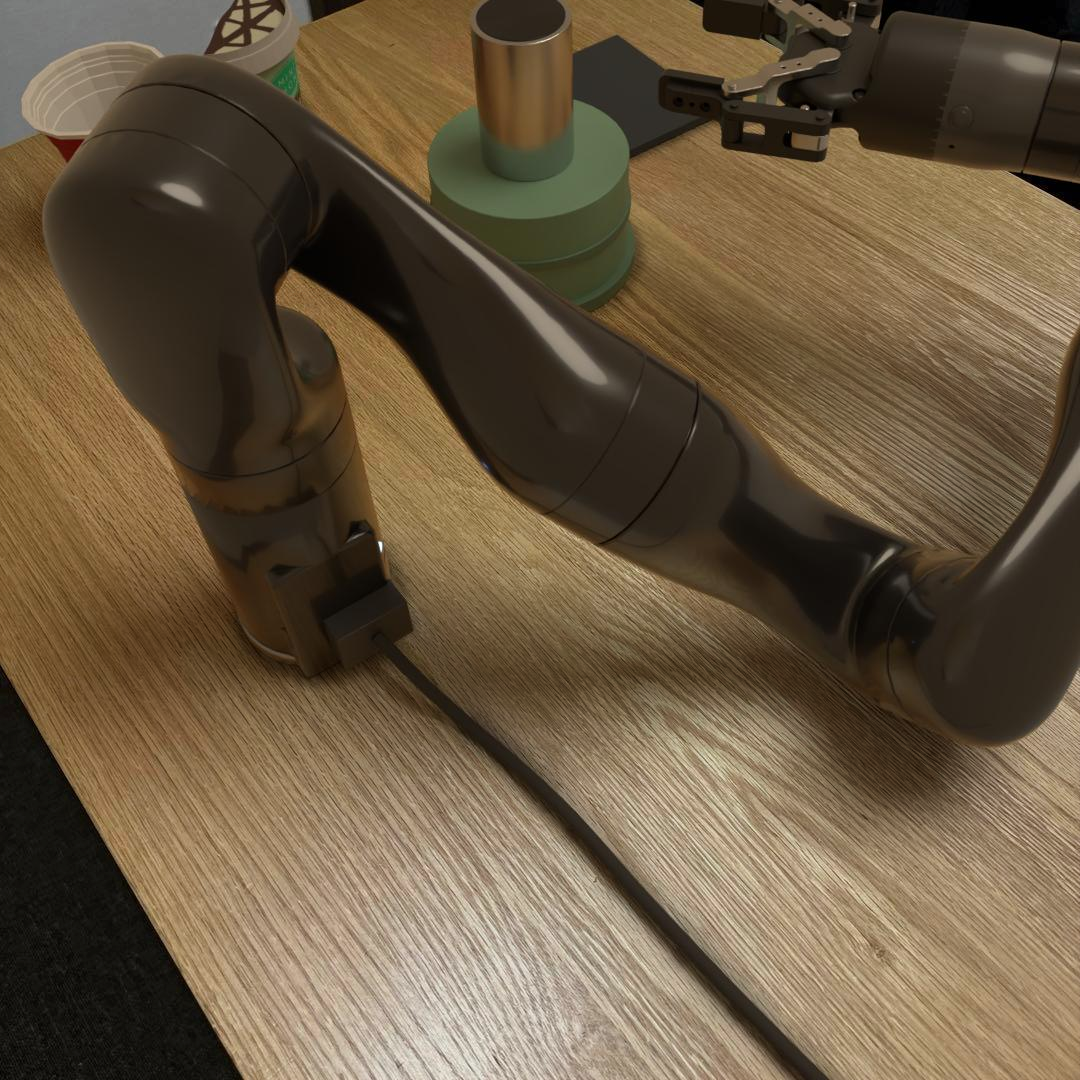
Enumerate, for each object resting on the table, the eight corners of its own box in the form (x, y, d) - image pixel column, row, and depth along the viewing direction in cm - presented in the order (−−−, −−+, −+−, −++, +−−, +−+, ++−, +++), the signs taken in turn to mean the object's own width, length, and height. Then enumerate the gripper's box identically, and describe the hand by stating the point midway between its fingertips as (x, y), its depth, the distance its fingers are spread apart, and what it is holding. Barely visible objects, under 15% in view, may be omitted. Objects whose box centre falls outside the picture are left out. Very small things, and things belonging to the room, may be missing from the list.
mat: (718, 116, 99) (718, 108, 98) (601, 171, 95) (601, 163, 94) (617, 42, 106) (617, 34, 105) (504, 90, 102) (504, 82, 102)
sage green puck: (676, 268, 88) (683, 165, 81) (504, 356, 83) (496, 255, 76) (558, 167, 96) (555, 64, 88) (395, 242, 91) (378, 140, 84)
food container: (295, 177, 96) (268, 63, 88) (223, 172, 97) (189, 59, 89) (334, 88, 103) (312, -24, 95) (266, 84, 104) (239, -28, 96)
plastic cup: (61, 202, 95) (0, 66, 86) (190, 160, 98) (146, 23, 88) (96, 282, 90) (35, 145, 80) (232, 235, 92) (190, 97, 82)
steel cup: (592, 158, 82) (592, 20, 74) (515, 194, 80) (506, 56, 72) (539, 114, 85) (534, -23, 77) (464, 147, 83) (450, 10, 75)
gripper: (918, 225, 66) (643, 170, 71) (966, 84, 74) (714, 42, 78) (946, 106, 60) (644, 54, 65) (995, -35, 68) (721, -72, 72)
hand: (683, 48), depth 72 cm, fingers open, 8 cm apart
